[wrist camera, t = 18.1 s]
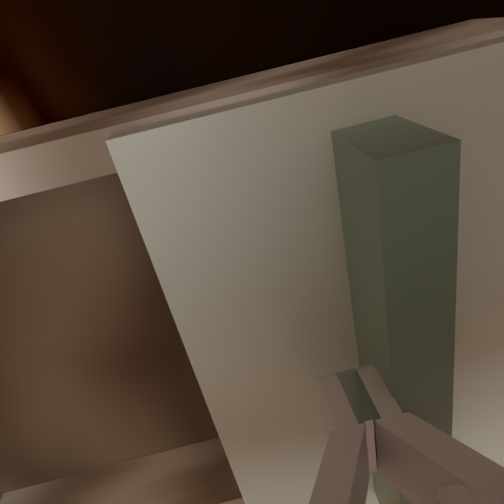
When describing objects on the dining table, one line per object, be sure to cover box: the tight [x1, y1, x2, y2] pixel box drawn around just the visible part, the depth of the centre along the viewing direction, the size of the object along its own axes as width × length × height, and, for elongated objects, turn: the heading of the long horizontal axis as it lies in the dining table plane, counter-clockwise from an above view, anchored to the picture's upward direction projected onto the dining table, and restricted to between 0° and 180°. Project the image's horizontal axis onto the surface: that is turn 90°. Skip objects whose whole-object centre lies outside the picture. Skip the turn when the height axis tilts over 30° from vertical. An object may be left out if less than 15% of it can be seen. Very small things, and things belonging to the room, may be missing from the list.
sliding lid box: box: [0, 17, 504, 504], centre depth 14 cm, size 22×15×4 cm
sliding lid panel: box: [105, 36, 504, 504], centre depth 11 cm, size 10×15×3 cm
